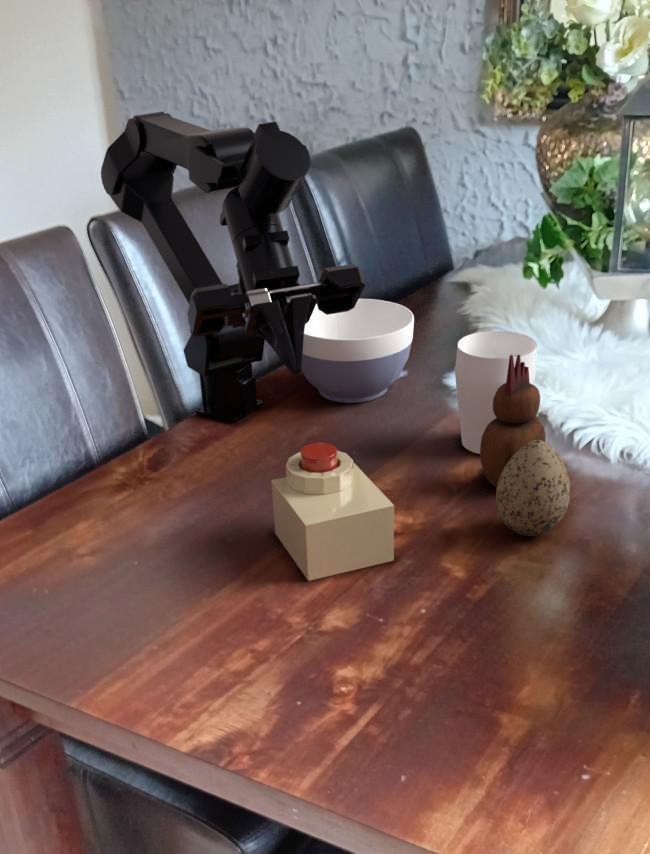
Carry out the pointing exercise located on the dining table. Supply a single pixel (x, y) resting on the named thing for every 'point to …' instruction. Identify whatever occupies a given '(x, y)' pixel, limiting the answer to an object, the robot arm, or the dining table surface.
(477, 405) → the cup
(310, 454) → the red push button
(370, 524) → the button base
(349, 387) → the bowl
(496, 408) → the wooden figurine
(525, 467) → the decorative egg
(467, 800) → the dining table surface
